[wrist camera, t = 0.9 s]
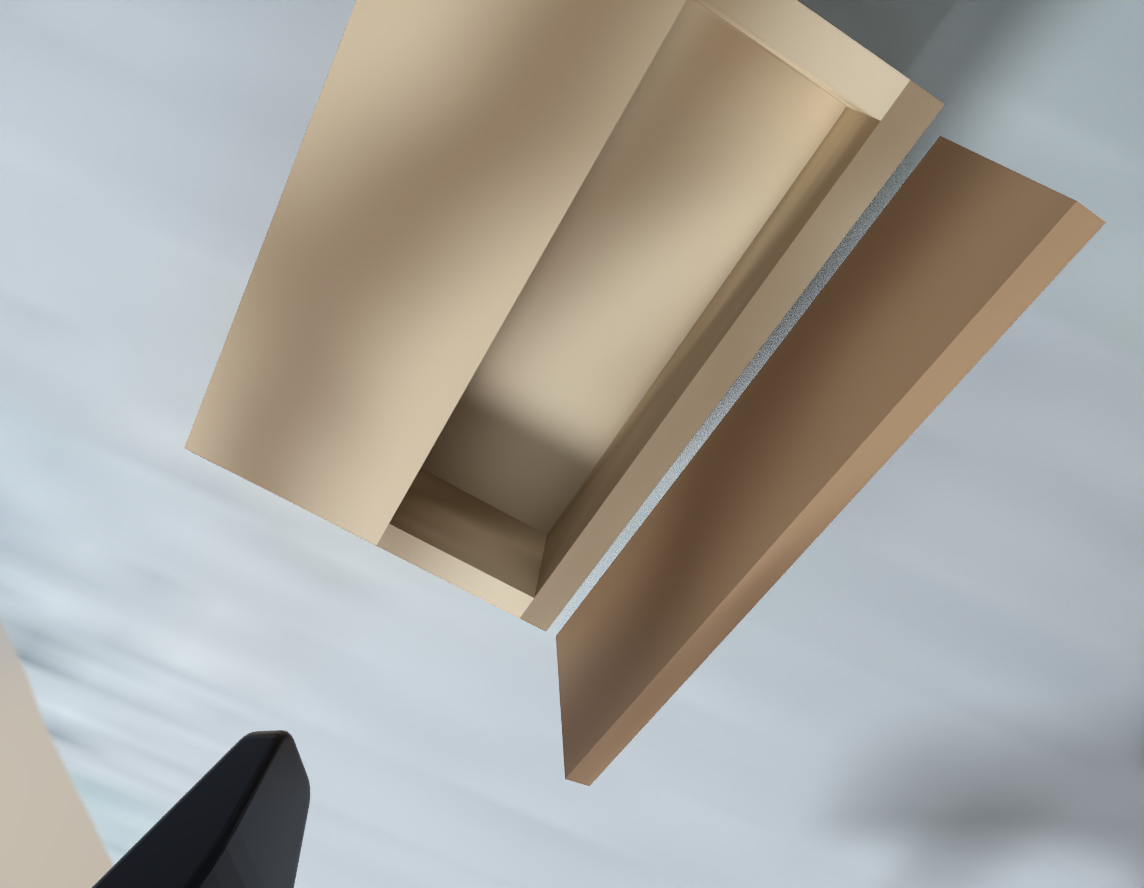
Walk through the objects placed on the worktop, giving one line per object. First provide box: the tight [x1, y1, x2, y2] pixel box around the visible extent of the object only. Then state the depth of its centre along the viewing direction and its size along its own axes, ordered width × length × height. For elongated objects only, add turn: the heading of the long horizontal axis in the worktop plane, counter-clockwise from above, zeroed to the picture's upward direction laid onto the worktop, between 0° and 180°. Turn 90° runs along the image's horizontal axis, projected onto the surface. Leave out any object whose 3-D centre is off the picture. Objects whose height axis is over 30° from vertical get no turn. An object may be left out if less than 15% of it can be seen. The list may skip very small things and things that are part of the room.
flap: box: [556, 136, 1106, 786], centre depth 16 cm, size 4×14×1 cm
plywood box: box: [185, 0, 945, 631], centre depth 18 cm, size 10×15×4 cm, turn 150°
